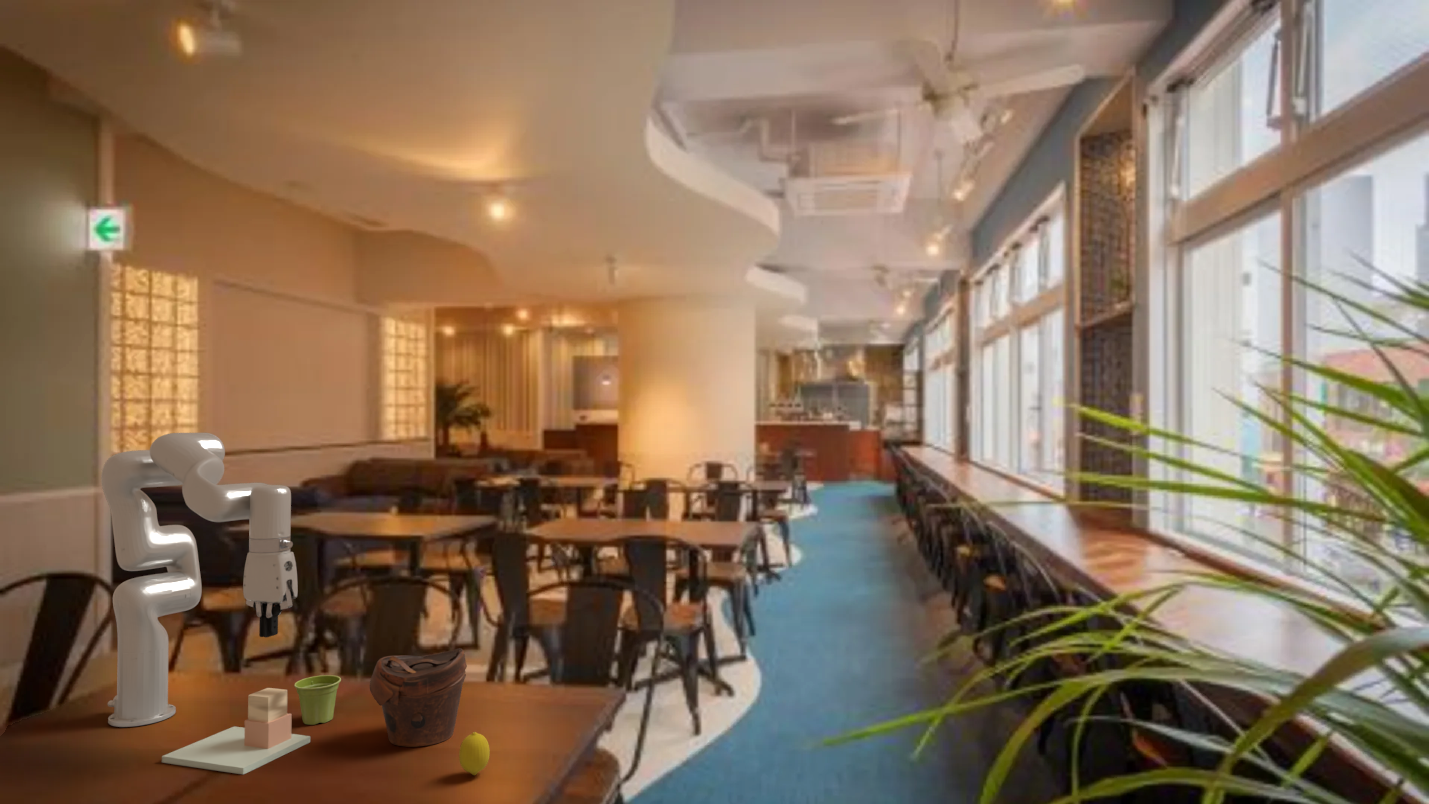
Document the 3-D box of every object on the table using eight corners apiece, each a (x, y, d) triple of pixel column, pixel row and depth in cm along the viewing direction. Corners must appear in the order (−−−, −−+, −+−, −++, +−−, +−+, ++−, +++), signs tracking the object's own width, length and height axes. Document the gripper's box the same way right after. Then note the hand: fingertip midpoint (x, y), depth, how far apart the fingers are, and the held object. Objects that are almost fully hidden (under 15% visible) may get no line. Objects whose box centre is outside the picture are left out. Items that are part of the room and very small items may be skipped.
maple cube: (267, 711, 177) (267, 687, 177) (287, 714, 176) (287, 689, 176) (248, 720, 173) (248, 695, 173) (268, 722, 171) (268, 697, 171)
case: (353, 738, 179) (355, 652, 179) (440, 715, 193) (442, 635, 194) (393, 763, 167) (395, 671, 167) (483, 736, 181) (485, 651, 182)
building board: (161, 762, 167) (161, 756, 167) (234, 732, 183) (234, 726, 183) (243, 774, 161) (243, 768, 161) (310, 742, 177) (310, 736, 177)
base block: (244, 745, 172) (244, 720, 172) (268, 735, 178) (268, 710, 178) (268, 748, 170) (268, 723, 170) (291, 738, 176) (291, 713, 176)
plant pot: (322, 729, 184) (323, 689, 185) (284, 726, 186) (284, 686, 187) (349, 714, 194) (349, 676, 194) (312, 712, 195) (313, 674, 196)
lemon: (462, 769, 163) (462, 727, 163) (491, 768, 163) (492, 726, 164) (456, 781, 157) (456, 738, 158) (486, 780, 158) (486, 737, 158)
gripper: (313, 545, 176) (312, 634, 176) (255, 541, 181) (254, 628, 180) (285, 550, 169) (284, 643, 169) (225, 546, 174) (224, 637, 173)
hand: (268, 635), depth 175 cm, fingers closed
